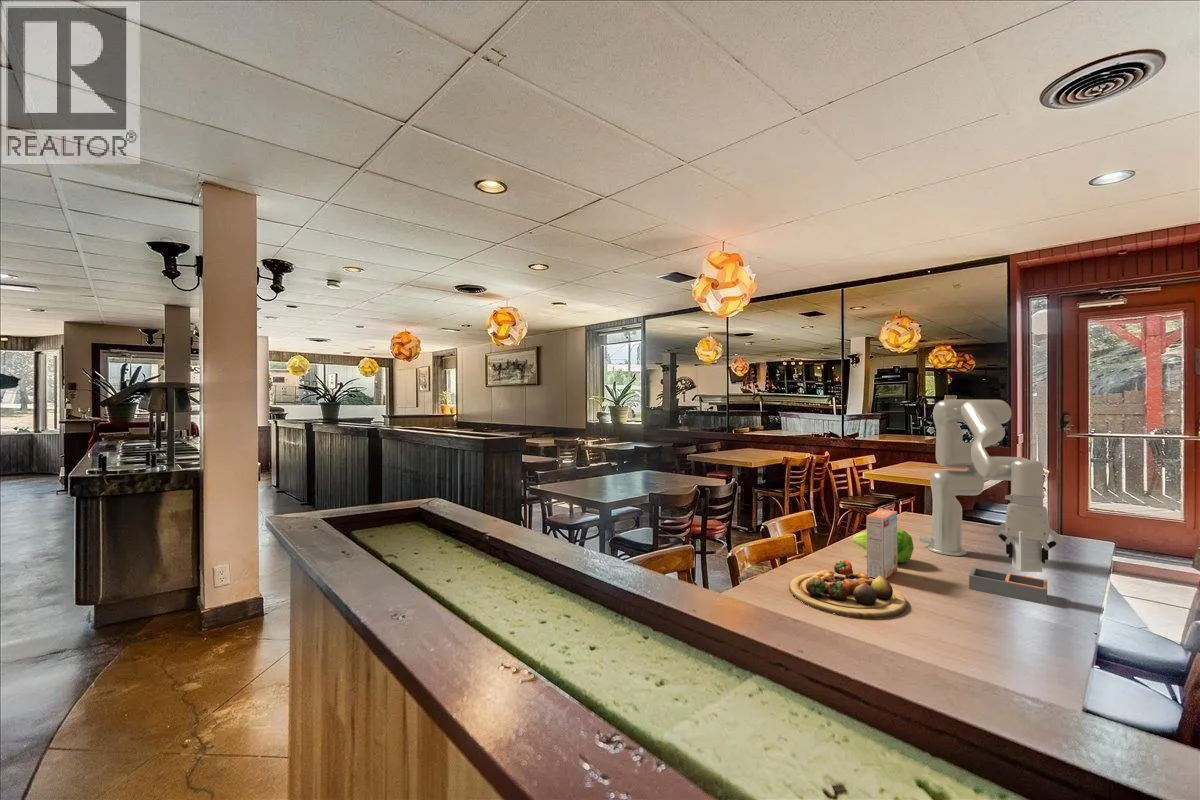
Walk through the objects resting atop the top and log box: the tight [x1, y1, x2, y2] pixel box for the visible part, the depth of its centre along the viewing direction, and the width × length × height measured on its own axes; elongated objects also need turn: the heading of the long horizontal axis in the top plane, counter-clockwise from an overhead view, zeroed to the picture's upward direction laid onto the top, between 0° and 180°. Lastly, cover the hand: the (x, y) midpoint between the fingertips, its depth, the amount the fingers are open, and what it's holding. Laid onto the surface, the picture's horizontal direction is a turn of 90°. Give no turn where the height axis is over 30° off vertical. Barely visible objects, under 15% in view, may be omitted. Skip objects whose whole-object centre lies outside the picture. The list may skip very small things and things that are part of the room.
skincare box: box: [1011, 532, 1043, 573], centre depth 157 cm, size 6×4×12 cm
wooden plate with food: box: [788, 559, 907, 620], centre depth 156 cm, size 32×32×8 cm
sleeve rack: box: [968, 567, 1048, 605], centre depth 160 cm, size 18×10×4 cm, turn 48°
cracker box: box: [865, 508, 898, 580], centre depth 175 cm, size 14×6×21 cm, turn 135°
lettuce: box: [852, 528, 915, 564], centre depth 191 cm, size 14×20×12 cm
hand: (1026, 559), depth 157 cm, fingers closed on skincare box, 7 cm apart
